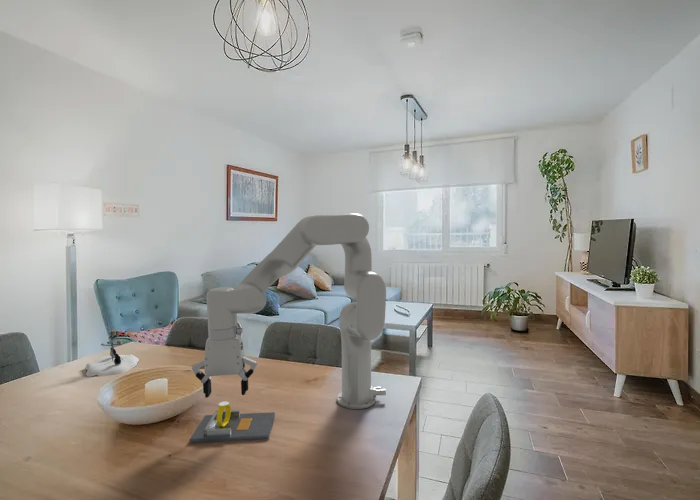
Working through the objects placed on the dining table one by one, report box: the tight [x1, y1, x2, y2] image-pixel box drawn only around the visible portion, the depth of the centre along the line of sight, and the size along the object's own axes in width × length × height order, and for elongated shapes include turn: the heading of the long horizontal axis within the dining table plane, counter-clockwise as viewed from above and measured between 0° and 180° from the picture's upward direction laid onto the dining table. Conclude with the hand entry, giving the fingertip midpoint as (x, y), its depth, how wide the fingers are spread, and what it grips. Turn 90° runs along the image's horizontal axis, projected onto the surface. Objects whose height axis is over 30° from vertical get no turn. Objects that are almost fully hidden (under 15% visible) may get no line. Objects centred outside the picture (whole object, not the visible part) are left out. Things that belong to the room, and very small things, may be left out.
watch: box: [217, 400, 232, 427], centre depth 97 cm, size 6×3×6 cm, turn 175°
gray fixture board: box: [189, 409, 276, 444], centre depth 97 cm, size 20×12×3 cm, turn 94°
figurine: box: [84, 329, 140, 377], centre depth 144 cm, size 20×18×16 cm
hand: (226, 394), depth 97 cm, fingers open, 9 cm apart
